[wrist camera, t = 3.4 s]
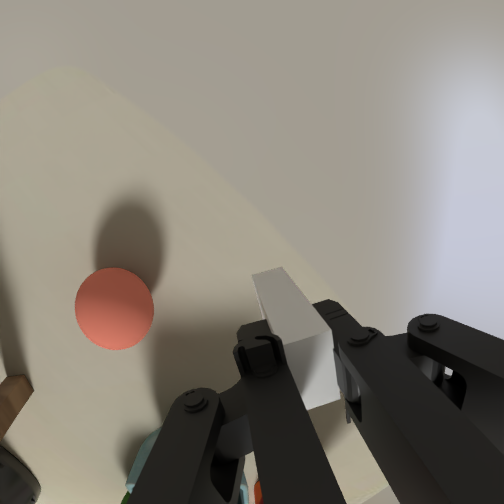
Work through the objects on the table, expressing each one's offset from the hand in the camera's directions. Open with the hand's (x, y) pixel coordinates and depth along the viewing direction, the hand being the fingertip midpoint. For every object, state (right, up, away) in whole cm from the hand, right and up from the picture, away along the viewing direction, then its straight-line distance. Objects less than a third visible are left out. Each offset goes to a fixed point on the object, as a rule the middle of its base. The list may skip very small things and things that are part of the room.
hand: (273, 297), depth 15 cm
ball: (-10, -2, +4) cm, 11 cm away
